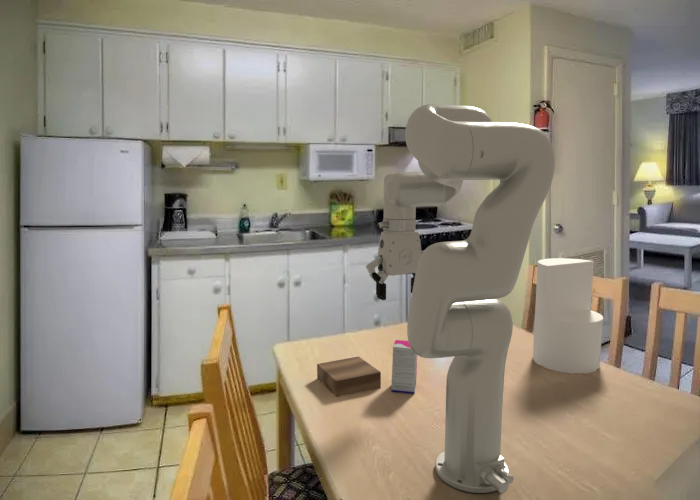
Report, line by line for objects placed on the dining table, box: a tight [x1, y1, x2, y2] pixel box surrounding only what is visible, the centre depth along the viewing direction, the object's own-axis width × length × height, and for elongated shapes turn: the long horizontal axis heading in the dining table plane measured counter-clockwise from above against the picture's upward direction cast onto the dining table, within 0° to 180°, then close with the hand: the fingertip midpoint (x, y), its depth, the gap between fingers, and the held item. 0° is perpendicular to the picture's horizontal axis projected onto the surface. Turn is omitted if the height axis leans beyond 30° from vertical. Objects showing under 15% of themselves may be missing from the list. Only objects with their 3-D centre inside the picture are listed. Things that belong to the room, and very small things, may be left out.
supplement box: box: [390, 339, 418, 395], centre depth 122 cm, size 6×6×12 cm
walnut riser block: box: [316, 356, 382, 398], centre depth 125 cm, size 12×12×4 cm
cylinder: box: [532, 257, 604, 374], centre depth 137 cm, size 17×17×28 cm
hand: (398, 296), depth 120 cm, fingers open, 9 cm apart
